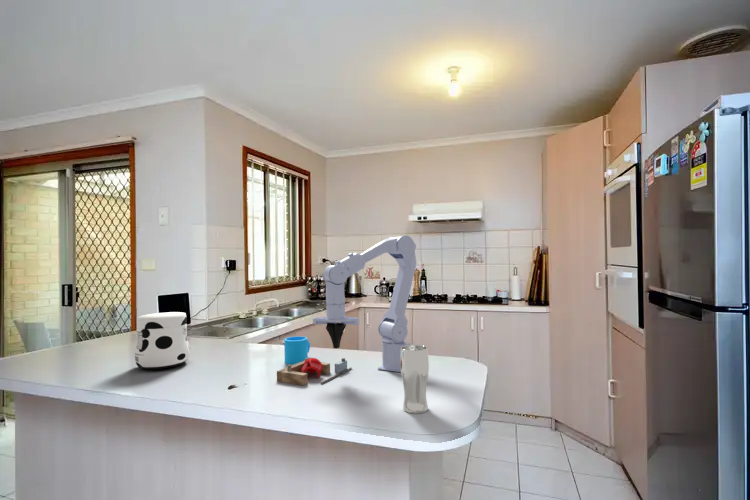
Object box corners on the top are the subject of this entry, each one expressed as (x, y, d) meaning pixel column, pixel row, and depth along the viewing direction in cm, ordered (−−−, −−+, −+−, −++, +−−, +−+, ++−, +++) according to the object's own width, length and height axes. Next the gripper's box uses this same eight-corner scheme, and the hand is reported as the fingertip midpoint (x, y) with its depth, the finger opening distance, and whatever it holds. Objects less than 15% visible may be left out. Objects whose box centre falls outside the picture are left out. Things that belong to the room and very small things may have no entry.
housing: (351, 369, 134) (351, 355, 134) (315, 387, 117) (315, 371, 117) (315, 364, 141) (315, 351, 141) (276, 381, 123) (276, 366, 123)
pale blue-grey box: (347, 369, 133) (347, 358, 133) (339, 373, 129) (338, 361, 129) (343, 369, 134) (342, 357, 134) (334, 373, 130) (334, 361, 130)
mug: (298, 365, 141) (297, 341, 141) (279, 362, 145) (279, 340, 145) (318, 357, 152) (317, 335, 152) (300, 355, 155) (300, 333, 155)
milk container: (199, 359, 152) (198, 311, 152) (171, 373, 134) (170, 318, 134) (155, 359, 153) (155, 311, 153) (122, 372, 136) (122, 319, 136)
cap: (324, 369, 124) (326, 354, 129) (306, 364, 123) (308, 350, 128) (316, 386, 128) (317, 371, 133) (298, 381, 126) (300, 367, 132)
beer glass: (399, 404, 102) (398, 344, 102) (426, 403, 103) (425, 343, 103) (403, 415, 95) (402, 351, 96) (432, 413, 96) (431, 350, 96)
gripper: (308, 305, 123) (309, 350, 123) (354, 305, 120) (355, 351, 120) (316, 302, 130) (317, 344, 130) (360, 302, 127) (361, 345, 127)
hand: (336, 347), depth 126 cm, fingers closed
